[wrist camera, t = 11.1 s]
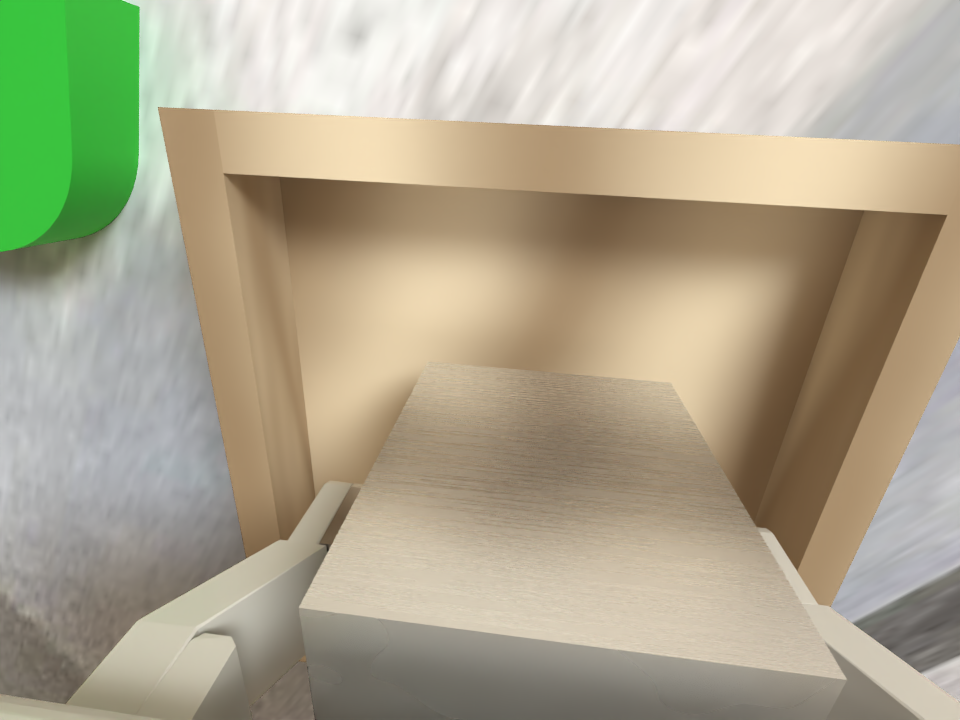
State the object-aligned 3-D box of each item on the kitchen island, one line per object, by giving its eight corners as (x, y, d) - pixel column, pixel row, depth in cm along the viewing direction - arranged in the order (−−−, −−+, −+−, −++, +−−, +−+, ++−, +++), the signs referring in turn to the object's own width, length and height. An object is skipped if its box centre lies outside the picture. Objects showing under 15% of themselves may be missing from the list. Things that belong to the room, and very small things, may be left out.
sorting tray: (905, 150, 10) (1049, 148, 7) (730, 625, 15) (773, 727, 13) (252, 118, 11) (157, 106, 8) (310, 572, 16) (265, 656, 14)
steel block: (670, 382, 10) (846, 680, 4) (628, 566, 12) (710, 930, 6) (427, 361, 10) (298, 607, 5) (427, 542, 12) (336, 864, 7)
